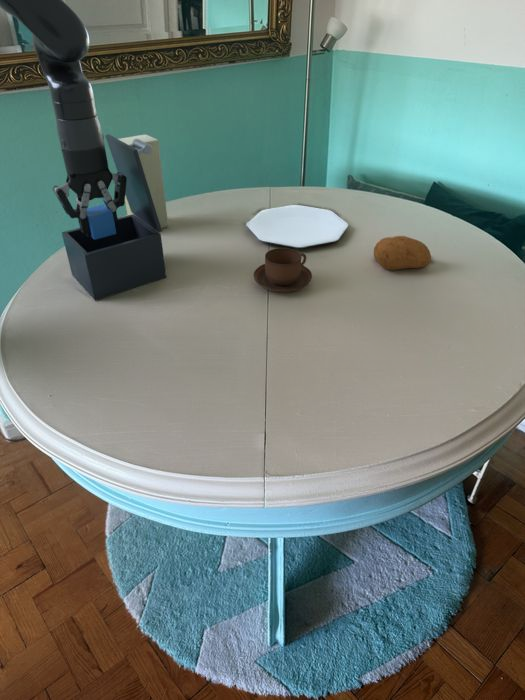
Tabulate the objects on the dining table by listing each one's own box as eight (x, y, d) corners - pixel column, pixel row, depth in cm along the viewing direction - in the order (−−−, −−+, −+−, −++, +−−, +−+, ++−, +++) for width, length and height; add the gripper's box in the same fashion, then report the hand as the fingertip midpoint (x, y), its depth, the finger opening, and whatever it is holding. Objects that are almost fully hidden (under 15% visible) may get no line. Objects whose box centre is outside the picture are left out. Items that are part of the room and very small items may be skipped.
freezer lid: (133, 151, 92) (158, 141, 94) (104, 135, 101) (128, 126, 102) (158, 232, 103) (181, 222, 105) (131, 212, 112) (152, 203, 114)
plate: (362, 241, 124) (363, 235, 123) (271, 258, 117) (271, 252, 116) (318, 206, 141) (318, 200, 140) (236, 219, 134) (236, 213, 133)
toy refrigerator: (155, 217, 135) (144, 132, 123) (169, 226, 131) (159, 139, 118) (127, 224, 132) (113, 138, 119) (140, 234, 127) (126, 145, 114)
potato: (366, 262, 115) (372, 230, 112) (421, 263, 117) (428, 233, 114) (376, 273, 109) (382, 240, 106) (433, 275, 111) (441, 243, 107)
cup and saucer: (273, 263, 115) (273, 238, 111) (321, 278, 109) (323, 251, 106) (242, 286, 107) (241, 259, 103) (292, 303, 101) (293, 276, 98)
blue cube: (94, 240, 100) (89, 217, 98) (85, 231, 103) (80, 209, 101) (116, 233, 103) (112, 211, 100) (107, 226, 106) (103, 204, 103)
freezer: (95, 300, 102) (84, 255, 96) (72, 275, 111) (61, 232, 105) (166, 277, 110) (160, 234, 104) (140, 255, 118) (133, 213, 112)
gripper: (111, 131, 98) (126, 217, 109) (35, 144, 92) (58, 234, 102) (128, 140, 93) (141, 229, 104) (48, 154, 87) (72, 248, 97)
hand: (100, 231), depth 103 cm, fingers closed on blue cube, 4 cm apart
